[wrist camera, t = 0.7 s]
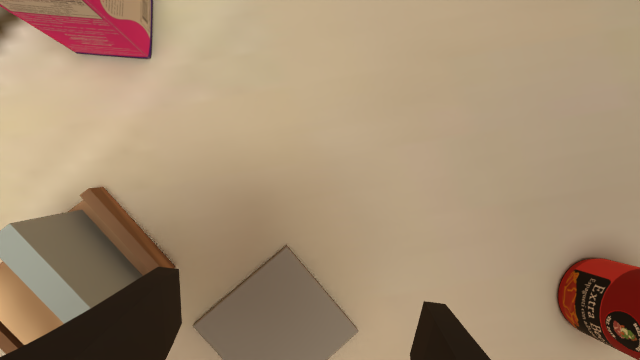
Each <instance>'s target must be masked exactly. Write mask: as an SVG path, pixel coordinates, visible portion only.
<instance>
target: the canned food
mask: <svg viewBox="0 0 640 360" xmlns="http://www.w3.org/2000/svg"><path fill="white" fill-rule="evenodd" d="M558 300H559V306H560V309H561V311H562V313H563V315H564V316H565V318H566V319H567V320H568V321H569V322H570V323H571V324H572V325H573V326H574V327H575V328H577V329H578V330H580V331H581V332H583V333H585V334H587V335H589V336H591V337H593V338H595V339H597V340H599V341H601V342H603V343H605V344H607V345H609V346H611V347H613V348H615V349H617V350H619V351H621V352H623V353H625V354H627V355H629V356H631V357H633V358H635V359H637V360H640V267H636V266H632V265H628V264H624V263H620V262H616V261H611V260H607V259H587V260H582V261H580V262H578V263H576V264H575V265H573V266H572V267H571V268H570V269H569V270H568V271H567V272H566V273H565V275H564V277H563V278H562V281H561V283H560V287H559V291H558Z"/></svg>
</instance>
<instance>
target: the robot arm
mask: <svg viewBox="0 0 640 360" xmlns="http://www.w3.org/2000/svg"><path fill="white" fill-rule="evenodd" d="M181 324H182V319H181V300H180V282H179V269H174V268H166V267H157V268H155V269H153V270H152V271H150V272H148V273H147V274H145V275H144V276H142V277H140V278H139V279H137V280H136V281H134V282H132V283H131V284H129V285H128V286H126V287H125V288H123V289H121V290H120V291H118V292H117V293H115V294H113V295H112V296H110V297H108V298H107V299H105V300H104V301H102V302H100V303H99V304H97V305H96V306H94V307H92V308H91V309H89V310H87V311H86V312H84V313H82V314H80V315H78V316H77V317H75V318H73V319H71V320H70V321H68V322H66V323H64V324H63V325H61V326H59V327H57V328H56V329H54V330H52V331H50V332H49V333H47V334H45V335H43V336H41V337H39V338H38V339H36V340H34V341H32V342H30V343H28V344H26V345H24V346H22V347H20V348H18V349H16V350H14V351H12V352H10V353H8V354H6V355H4V356H2V357H0V360H165V359H166V357H167V355H168V353H169V351H170V349H171V347H172V345H173V342H174V340H175V338H176V335H177V333H178V331H179V328H180V326H181ZM410 360H491V359H490V358H489V357H488V356H487V355H486V353H485V352H484V351H483V350H482V349H481V347H480V346H479V345H478V344H477V343H476V341H475V340H474V339H473V338H472V336H471V335H470V334H469V333H468V331H467V330H466V329H465V328H464V327H463V325H462V324H461V323H460V322H459V320H458V319H457V318H456V317H455V315H454V314H453V313H452V312H451V310H450V309H449V308H448V307H447V306H446V304H440V303H433V302H425V301H424V303H423V307H422V311H421V315H420V318H419V322H418V326H417V330H416V333H415V337H414V341H413V345H412V348H411V352H410Z"/></svg>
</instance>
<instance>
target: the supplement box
mask: <svg viewBox="0 0 640 360" xmlns="http://www.w3.org/2000/svg"><path fill="white" fill-rule="evenodd" d="M0 6H1V7H3V8H4V9H6V10H7V11H9V12H11V13H12V14H14V15H16V16H17V17H19V18H21V19H22V20H24V21H25V22H27V23H29V24H30V25H32V26H34V27H35V28H37V29H38V30H40V31H42V32H43V33H45V34H47V35H48V36H50V37H52V38H53V39H55V40H56V41H58V42H60V43H61V44H63V45H65V46H66V47H68V48H69V49H71V50H73V51H74V52H76V53H81V54H94V55H106V56H119V57H132V58H151V45H152V0H0Z"/></svg>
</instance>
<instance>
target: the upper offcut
mask: <svg viewBox="0 0 640 360" xmlns="http://www.w3.org/2000/svg"><path fill="white" fill-rule="evenodd" d="M0 321H1V322H2V323H3V324H4V325H5V326H6V327H7V328H8V329H9V330H10V331H11V332H12V333H13V334H14V335H15V336H16V337H17V338H18V339H19V340H20V341H21V342H22V343H23V344H24V345H26V344H28V343H30V342H32V341H34V340H36V339H38V338H39V337H41V336H43V335H45V334H47V333H49V332H50V331H52V330H54V329H56V328H57V327H59V326H61V325H63V324H64V323H63V322H62V321H61V320H60V319H59V318H58V317H57V316H56V315H55V314H54V313H53V312H52V311H51V310H50V309H49V308H48V307H47V306H46V305H45V304H44V303H43V302H42V301H41V300H40V299H39V298H38V296H37V295H36V294H35V293H34V292H33V291H32V290H31V289H30V288H29V287H28V286H27V285H26V284H25V283H24V282H23V281H22V280H21V279H20V278H19V277H18V276H17V275H16V274H15V273H14V272H13V271H12V270H11V269H10V268H9V267H8V266H7V265H6V266H4V267H3V268H2V269H0Z"/></svg>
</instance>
